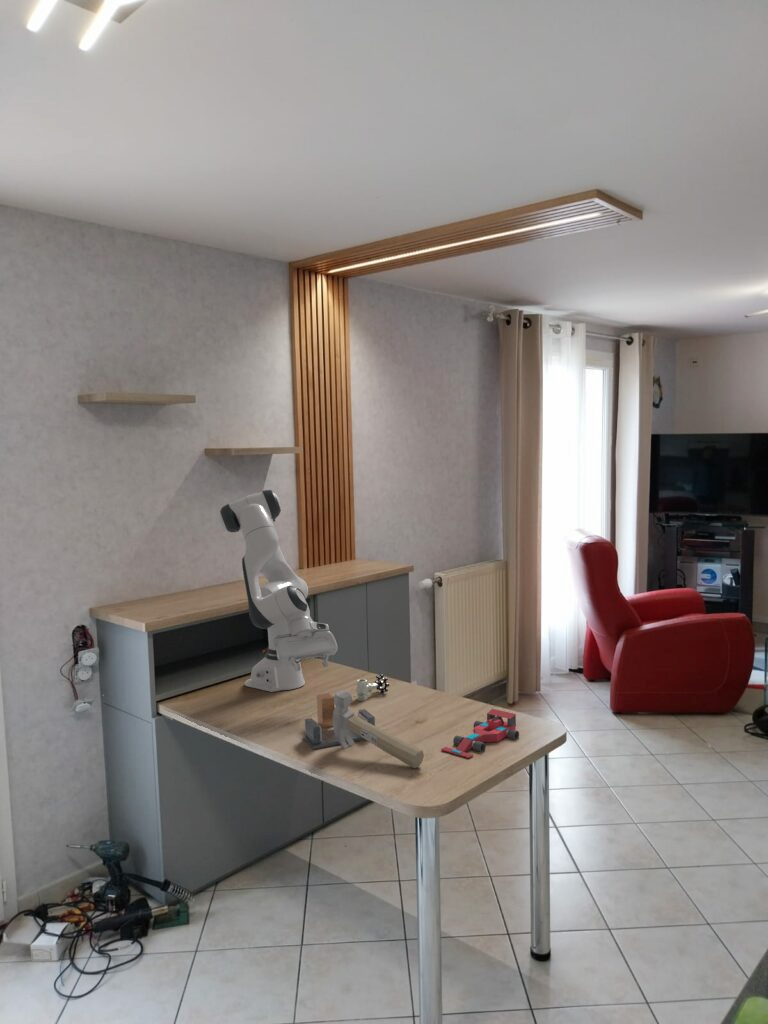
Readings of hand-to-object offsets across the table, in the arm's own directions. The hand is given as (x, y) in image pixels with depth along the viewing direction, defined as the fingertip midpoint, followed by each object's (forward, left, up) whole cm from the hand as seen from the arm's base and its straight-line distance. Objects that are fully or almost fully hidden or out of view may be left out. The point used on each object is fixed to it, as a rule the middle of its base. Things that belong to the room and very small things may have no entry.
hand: (312, 668), depth 249 cm
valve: (+9, +22, -15) cm, 28 cm away
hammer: (+36, -24, -15) cm, 46 cm away
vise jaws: (+19, -16, -15) cm, 29 cm away
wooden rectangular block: (+9, -8, -15) cm, 19 cm away
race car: (+58, -3, -16) cm, 61 cm away
